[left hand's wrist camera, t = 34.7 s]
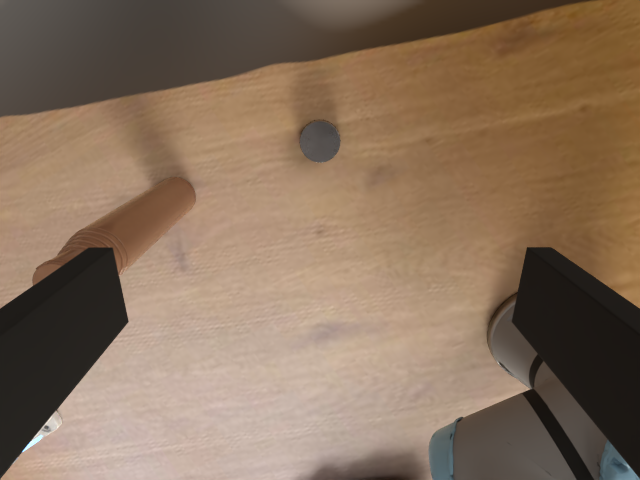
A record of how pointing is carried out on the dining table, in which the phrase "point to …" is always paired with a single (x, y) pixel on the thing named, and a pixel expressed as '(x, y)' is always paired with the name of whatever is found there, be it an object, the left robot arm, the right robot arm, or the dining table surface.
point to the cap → (320, 141)
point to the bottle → (129, 226)
